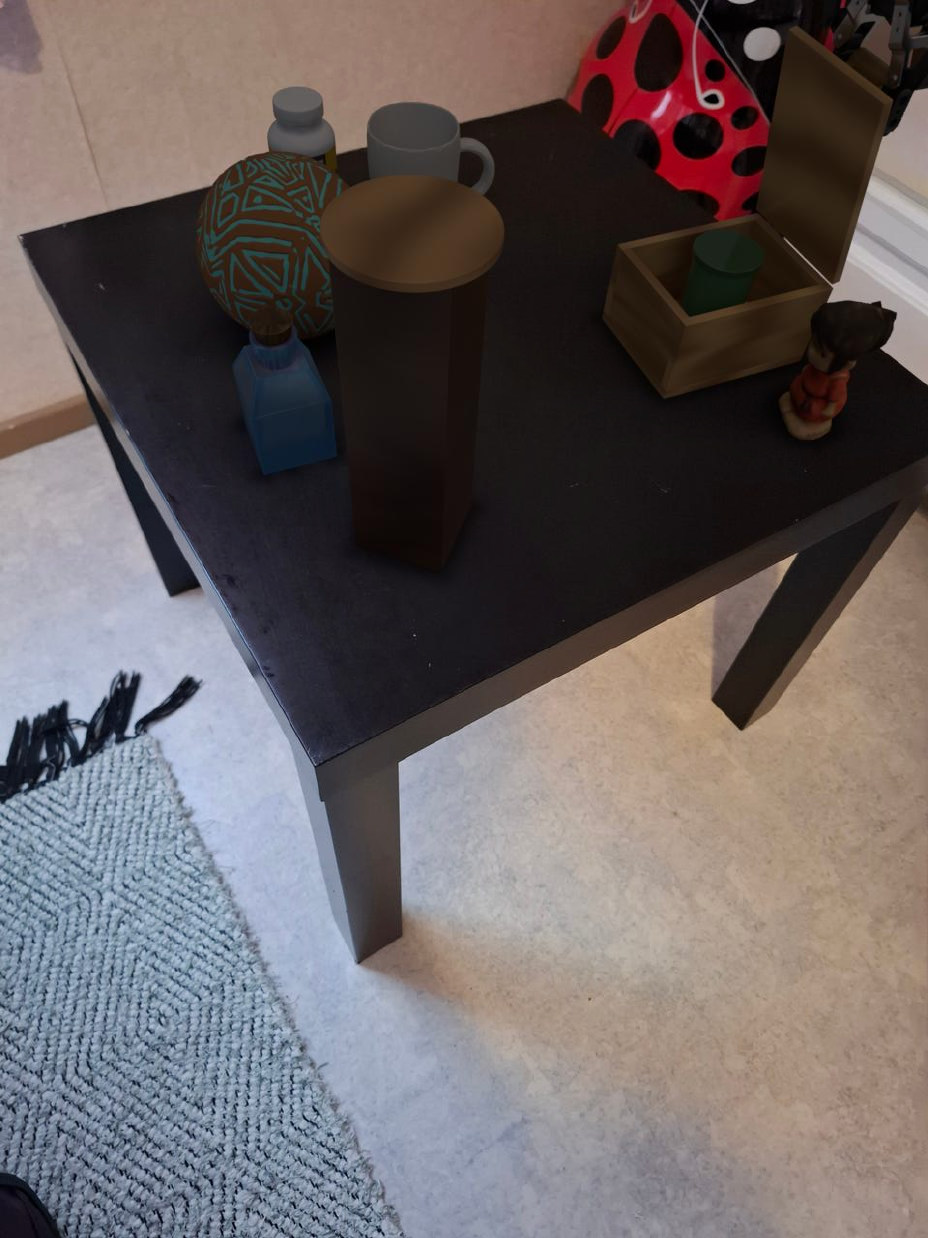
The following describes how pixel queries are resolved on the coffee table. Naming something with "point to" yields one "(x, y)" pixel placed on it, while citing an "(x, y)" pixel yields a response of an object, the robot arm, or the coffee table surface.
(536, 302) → the coffee table surface
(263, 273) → the decorative sphere
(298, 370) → the perfume bottle
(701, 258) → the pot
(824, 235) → the lid
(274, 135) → the pill bottle
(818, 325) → the figurine
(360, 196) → the tall pedestal column
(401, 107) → the mug
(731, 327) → the chest
